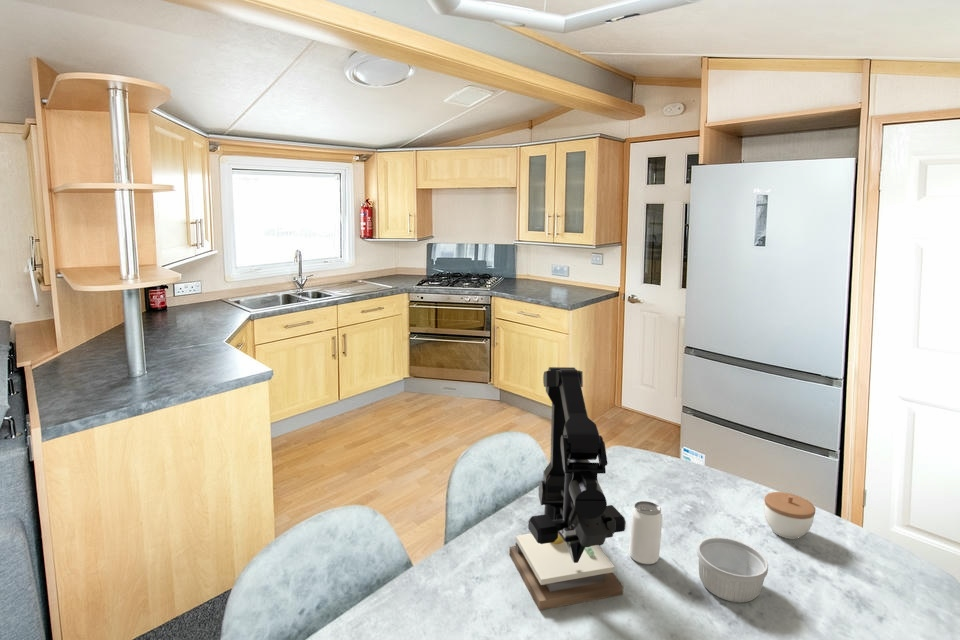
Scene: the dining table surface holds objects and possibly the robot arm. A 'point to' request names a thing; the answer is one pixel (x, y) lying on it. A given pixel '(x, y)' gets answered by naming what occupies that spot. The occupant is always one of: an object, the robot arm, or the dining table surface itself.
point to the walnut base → (563, 594)
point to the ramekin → (731, 569)
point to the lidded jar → (788, 514)
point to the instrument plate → (562, 560)
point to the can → (645, 533)
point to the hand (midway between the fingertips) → (574, 561)
